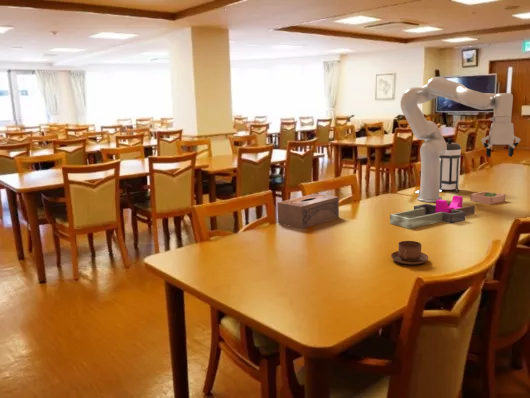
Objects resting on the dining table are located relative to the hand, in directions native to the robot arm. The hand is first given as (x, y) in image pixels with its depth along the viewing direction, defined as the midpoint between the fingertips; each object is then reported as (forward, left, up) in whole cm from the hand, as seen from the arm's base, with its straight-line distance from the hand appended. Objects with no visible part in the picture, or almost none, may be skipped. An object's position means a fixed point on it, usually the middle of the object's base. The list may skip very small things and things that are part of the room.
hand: (499, 156), depth 226 cm
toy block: (-3, -28, -25) cm, 38 cm away
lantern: (-41, +16, -25) cm, 50 cm away
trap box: (-3, -41, -25) cm, 48 cm away
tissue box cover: (-35, -86, -25) cm, 96 cm away
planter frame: (-11, +9, -25) cm, 28 cm away
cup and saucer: (+31, -91, -25) cm, 100 cm away
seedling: (-10, +8, -25) cm, 28 cm away
